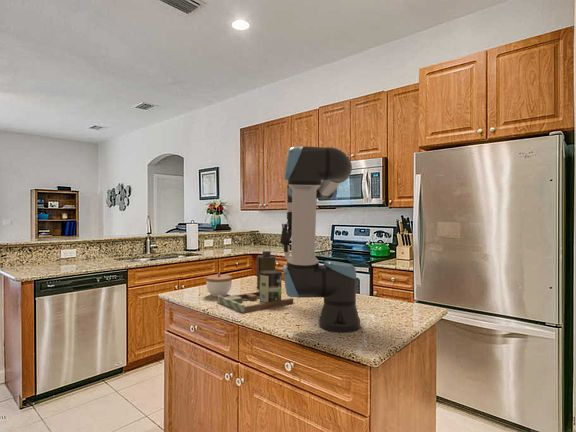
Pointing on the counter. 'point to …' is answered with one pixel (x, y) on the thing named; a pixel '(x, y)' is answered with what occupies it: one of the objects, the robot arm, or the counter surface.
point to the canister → (264, 264)
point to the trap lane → (237, 299)
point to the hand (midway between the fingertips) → (294, 258)
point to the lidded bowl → (218, 284)
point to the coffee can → (270, 286)
